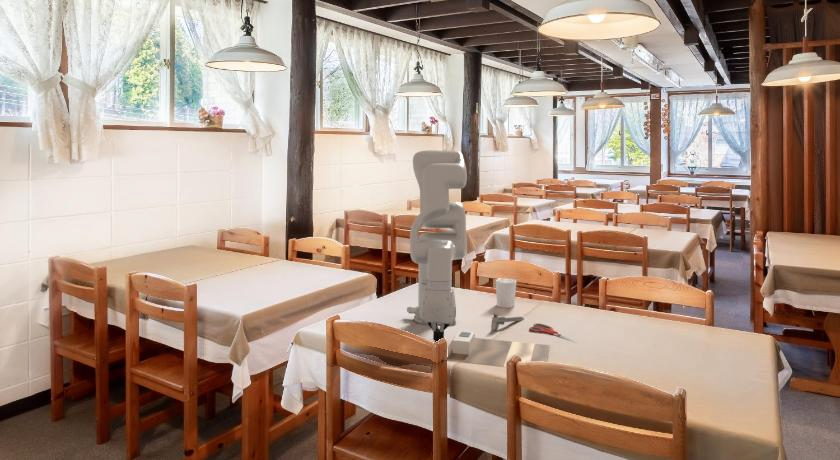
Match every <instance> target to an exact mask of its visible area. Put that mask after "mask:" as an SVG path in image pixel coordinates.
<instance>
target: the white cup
mask: <svg viewBox="0 0 840 460" xmlns="http://www.w3.org/2000/svg"><path fill="white" fill-rule="evenodd" d="M516 290H517V280H516V279H515V278H509V277H508V278H507V277H506V278H497V279H496V280H495V294H496V295H495V296H496V306H497V307H499V308H502V309H503V308H505V309H506V308H507V309H508V308H513V307H514V306H515V299H516Z"/></svg>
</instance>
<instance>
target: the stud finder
mask: <svg viewBox="0 0 840 460" xmlns="http://www.w3.org/2000/svg"><path fill="white" fill-rule="evenodd" d="M475 336H476V333H475V332H472V331H462V330H459V331H457V333H456V335H455V336H454V337H455V338H454V337H453V339H452V340H453V353H457V354H467V355H469V354H470V352H471V350H472V349H473V347H474V344H475V338H476V337H475Z"/></svg>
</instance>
